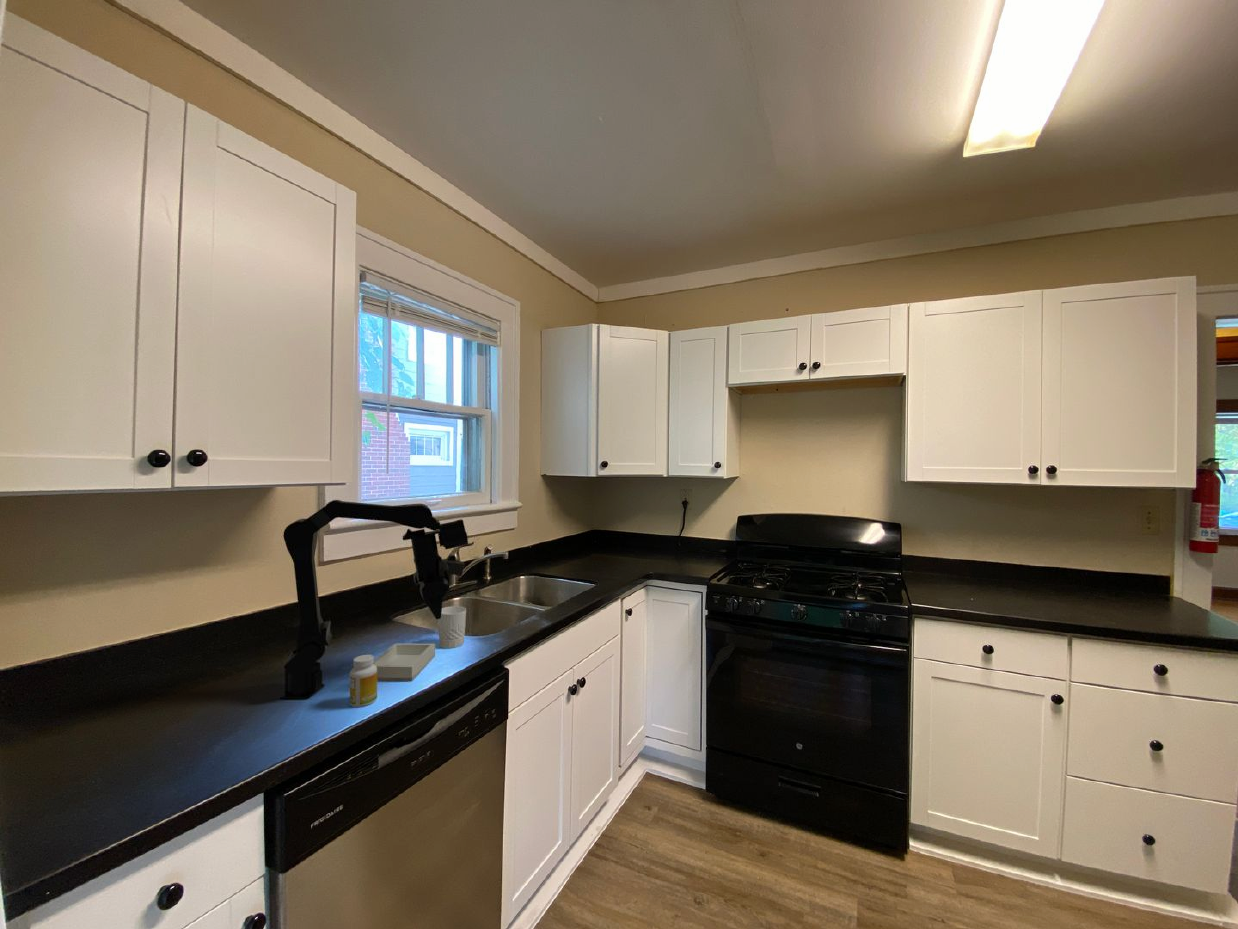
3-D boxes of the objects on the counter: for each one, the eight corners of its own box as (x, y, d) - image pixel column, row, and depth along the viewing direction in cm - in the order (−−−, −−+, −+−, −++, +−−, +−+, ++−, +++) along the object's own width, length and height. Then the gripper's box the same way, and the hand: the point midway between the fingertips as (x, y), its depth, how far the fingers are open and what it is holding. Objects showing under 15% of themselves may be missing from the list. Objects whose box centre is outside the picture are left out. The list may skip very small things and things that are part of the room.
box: (366, 681, 118) (366, 666, 118) (394, 656, 133) (394, 643, 133) (411, 681, 118) (412, 666, 118) (435, 656, 133) (435, 643, 133)
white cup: (454, 651, 137) (454, 615, 137) (431, 647, 139) (431, 612, 139) (471, 641, 144) (471, 607, 144) (449, 638, 147) (449, 605, 147)
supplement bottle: (381, 695, 111) (381, 653, 110) (370, 707, 105) (370, 662, 105) (357, 696, 110) (357, 653, 110) (344, 708, 105) (344, 663, 105)
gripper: (466, 551, 118) (476, 614, 119) (452, 541, 134) (461, 596, 135) (417, 563, 112) (427, 628, 113) (409, 550, 129) (418, 608, 130)
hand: (435, 613), depth 123 cm, fingers open, 9 cm apart
